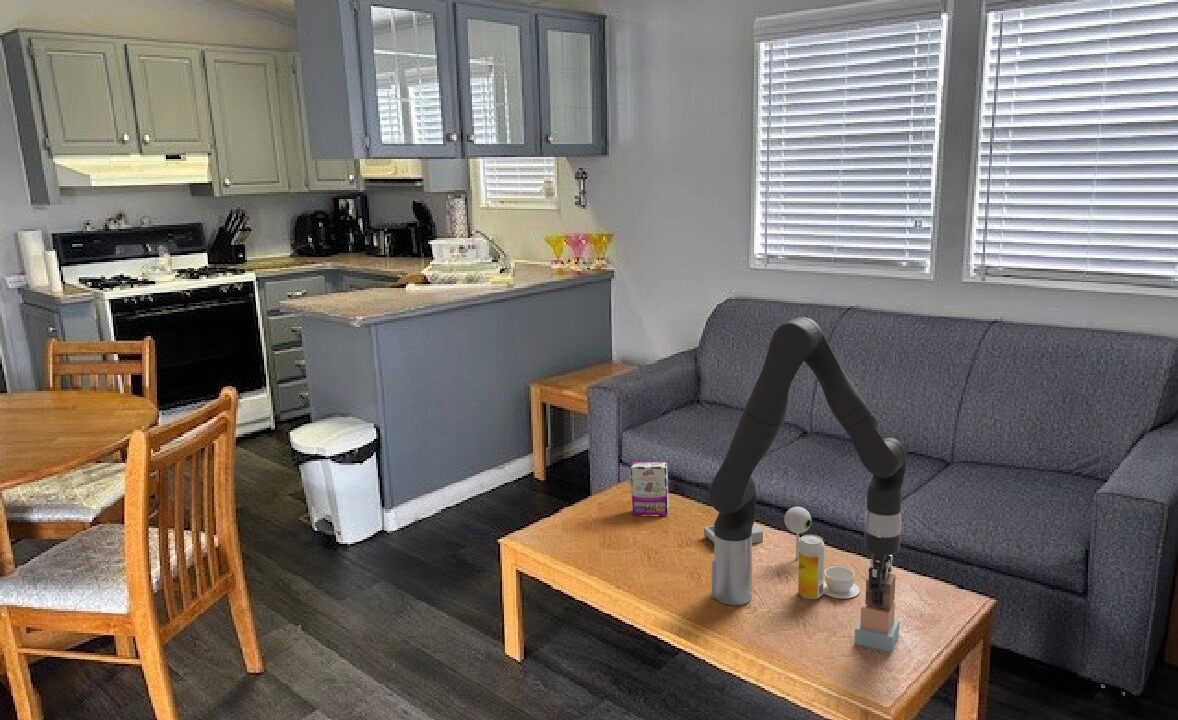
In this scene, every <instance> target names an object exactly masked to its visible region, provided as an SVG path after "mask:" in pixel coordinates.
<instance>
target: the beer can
mask: <svg viewBox="0 0 1178 720" xmlns="http://www.w3.org/2000/svg"><path fill="white" fill-rule="evenodd" d="M824 571H825V542H824V539H823V537H821V536H819V535H816V534H805V535H802V536H801V537H800V538H799V559H798V579H797V581H798V582H797V584H798V585H797V591H798V593H799V594H800V597H802V598H804V599H808V600H817V599H818V600H819V599H820V598H821V596H822V595H824V593H823V582H824V581H825V575H824Z"/></svg>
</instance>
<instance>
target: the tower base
mask: <svg viewBox="0 0 1178 720" xmlns="http://www.w3.org/2000/svg"><path fill="white" fill-rule="evenodd" d="M860 623H861V616H860V618H859V620H858V622H857V624H856V626H855V628H854V644H856V645H860V646H864V647H868V648H872V649H876V650H880V651H884V652H888V653H893V650H894V647H895V646H896V643H897V640H898V637H899V635H900V619H897V618H894V622H893V625H892V627H891V629H890V631H889V633H888V634H887V633H883V632H879V631H875V630H871V629H867V628H863V627H860Z"/></svg>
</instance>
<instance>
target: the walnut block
mask: <svg viewBox="0 0 1178 720" xmlns="http://www.w3.org/2000/svg"><path fill="white" fill-rule="evenodd" d="M896 575H897V574H895V573H891V572H890V573H889V574H887V580H885V581H884V590H883V604H882V606H877V605H873V604H872V590H869V574H868V576H867V578H866V579H865V599H864V601H865V604H867V605H871V606H875V607H880V608H884V609H889V610H890V608H891V605H892V603H893V601H895V593H896V577H897V576H896ZM882 576H884V575H883V574H882ZM877 585H878V584H877Z"/></svg>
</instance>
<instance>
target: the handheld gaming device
mask: <svg viewBox="0 0 1178 720" xmlns="http://www.w3.org/2000/svg"><path fill="white" fill-rule="evenodd" d="M703 537H704V538H705V539H707V538H709V540H710V541H711V542H712V543H714V525H711V526H706V527H704V528H703ZM707 540H708V539H707ZM760 542H762V543H763V542H764V531H763V530H761V529H760V528H759V527H758V526H757V525H755V523H754V524H753V527H752V544H756V543H760Z"/></svg>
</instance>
